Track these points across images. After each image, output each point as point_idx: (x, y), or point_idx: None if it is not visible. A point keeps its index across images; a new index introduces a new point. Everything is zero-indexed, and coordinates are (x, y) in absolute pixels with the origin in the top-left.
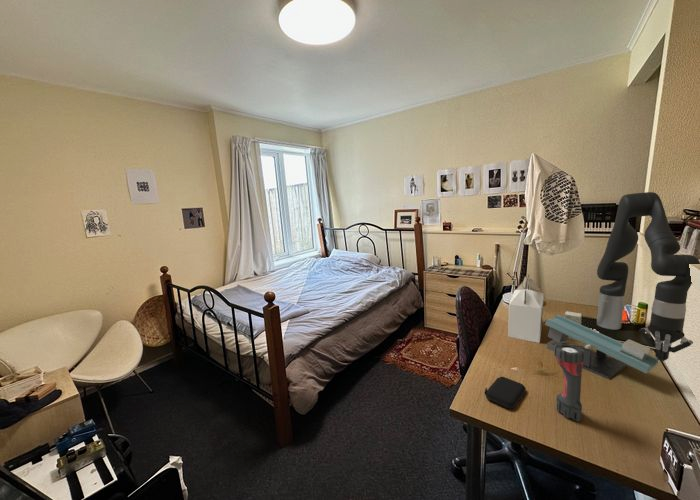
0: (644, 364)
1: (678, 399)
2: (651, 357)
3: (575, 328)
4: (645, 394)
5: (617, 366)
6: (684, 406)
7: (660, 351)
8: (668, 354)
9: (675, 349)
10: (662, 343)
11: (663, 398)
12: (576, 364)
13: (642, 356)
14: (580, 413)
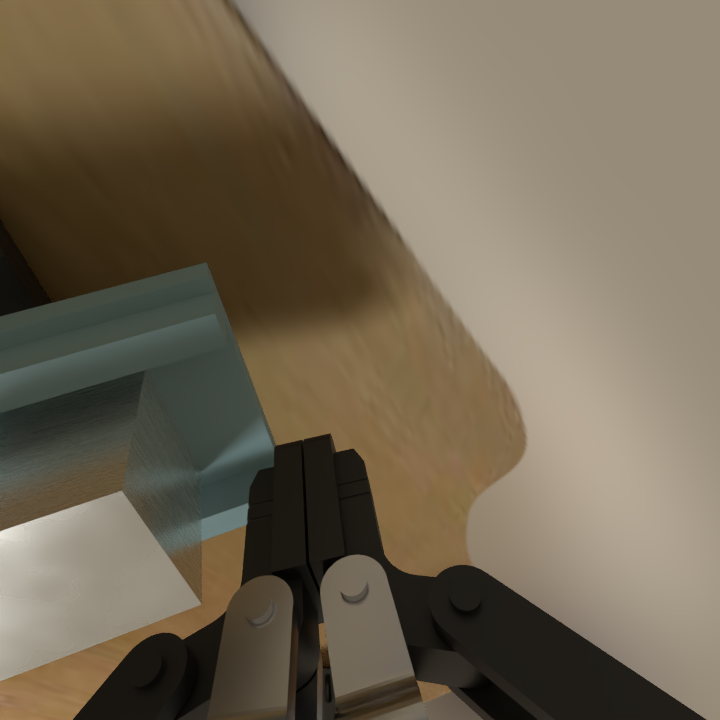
0: None
1: (418, 303)
2: (165, 360)
3: None
4: (317, 410)
5: (7, 311)
6: (460, 340)
7: (320, 608)
8: (377, 525)
9: (510, 699)
10: (288, 697)
11: (376, 365)
12: None
13: (197, 548)
14: (335, 705)
